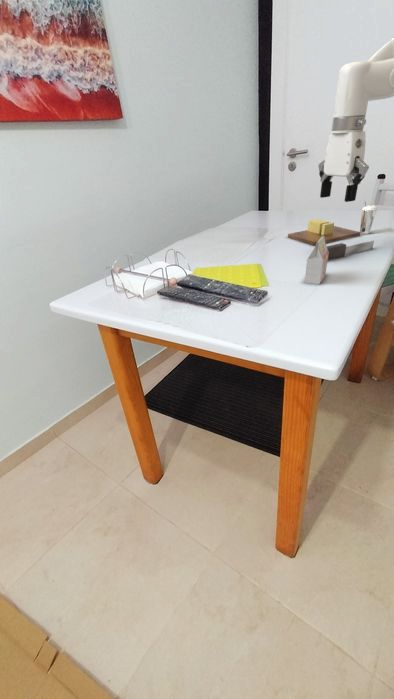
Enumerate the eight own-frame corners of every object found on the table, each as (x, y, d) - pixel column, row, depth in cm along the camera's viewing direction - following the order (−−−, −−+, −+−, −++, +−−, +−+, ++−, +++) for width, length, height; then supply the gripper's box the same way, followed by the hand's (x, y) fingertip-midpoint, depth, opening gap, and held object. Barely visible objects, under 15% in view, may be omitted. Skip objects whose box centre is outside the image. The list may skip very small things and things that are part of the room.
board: (331, 228, 128) (331, 225, 127) (359, 235, 117) (360, 232, 116) (287, 237, 122) (287, 233, 121) (313, 245, 111) (314, 242, 110)
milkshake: (365, 230, 122) (371, 200, 117) (374, 233, 118) (380, 203, 112) (353, 231, 122) (359, 202, 116) (362, 235, 117) (368, 204, 112)
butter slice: (329, 232, 118) (331, 222, 117) (332, 233, 117) (334, 223, 115) (320, 234, 117) (322, 224, 115) (323, 235, 116) (325, 224, 114)
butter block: (316, 229, 124) (317, 219, 122) (327, 232, 119) (329, 221, 117) (307, 230, 123) (308, 220, 121) (318, 234, 118) (320, 223, 116)
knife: (320, 262, 97) (322, 250, 95) (315, 260, 98) (317, 248, 96) (374, 249, 103) (377, 237, 101) (369, 247, 105) (371, 236, 103)
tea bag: (304, 282, 85) (309, 242, 80) (311, 273, 90) (315, 235, 85) (319, 284, 83) (325, 243, 78) (325, 275, 88) (331, 236, 83)
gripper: (387, 123, 79) (371, 201, 88) (335, 126, 93) (326, 194, 102) (362, 124, 77) (349, 204, 86) (313, 128, 91) (306, 197, 100)
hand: (336, 199), depth 94 cm, fingers open, 9 cm apart
